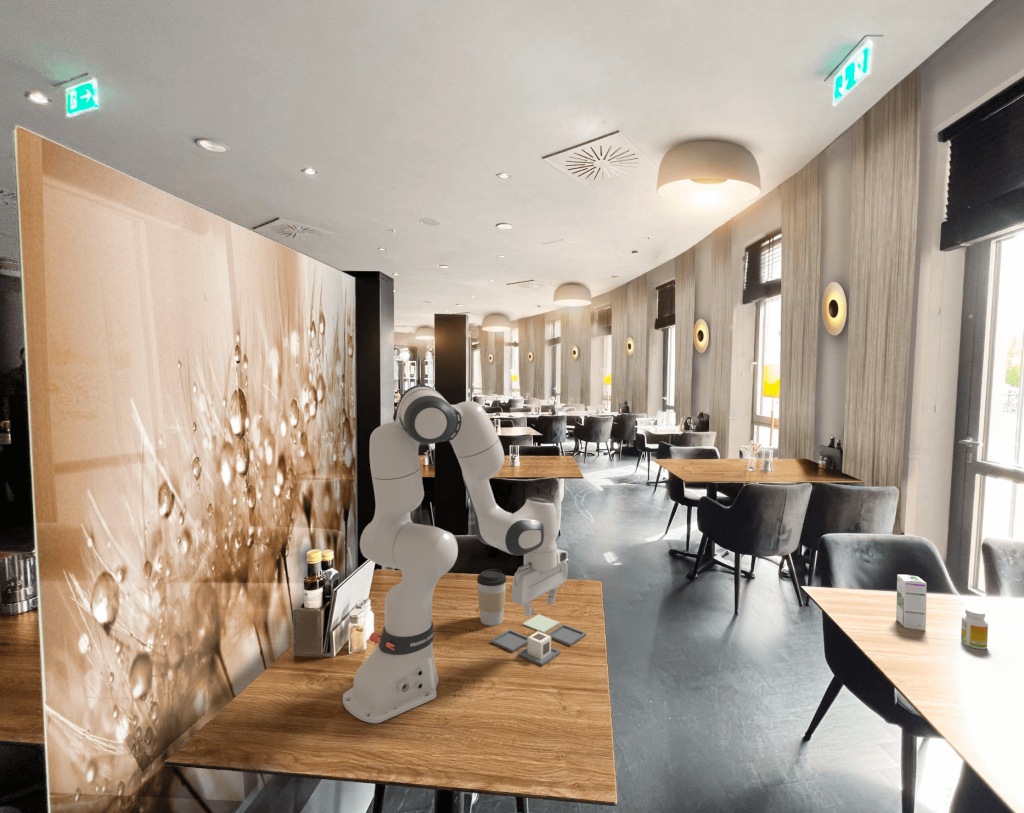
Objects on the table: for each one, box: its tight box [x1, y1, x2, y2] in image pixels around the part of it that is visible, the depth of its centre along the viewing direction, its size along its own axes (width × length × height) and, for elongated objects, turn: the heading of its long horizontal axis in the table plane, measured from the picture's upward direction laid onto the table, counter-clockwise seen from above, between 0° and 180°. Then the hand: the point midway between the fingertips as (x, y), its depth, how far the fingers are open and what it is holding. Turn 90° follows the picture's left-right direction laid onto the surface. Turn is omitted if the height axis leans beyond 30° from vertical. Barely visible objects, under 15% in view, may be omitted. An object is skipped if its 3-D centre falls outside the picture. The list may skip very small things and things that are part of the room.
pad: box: [522, 613, 560, 634], centre depth 151 cm, size 8×8×1 cm
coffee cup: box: [476, 568, 507, 627], centre depth 153 cm, size 9×9×15 cm
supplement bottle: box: [960, 607, 989, 650], centre depth 139 cm, size 5×5×10 cm
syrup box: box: [895, 574, 927, 631], centre depth 151 cm, size 6×6×14 cm
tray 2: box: [517, 646, 561, 667], centre depth 133 cm, size 8×8×1 cm
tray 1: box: [490, 629, 529, 654], centre depth 140 cm, size 8×8×1 cm
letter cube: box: [527, 630, 552, 660], centre depth 133 cm, size 4×5×5 cm
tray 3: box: [546, 623, 587, 647], centre depth 143 cm, size 8×8×1 cm
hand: (540, 609), depth 133 cm, fingers open, 8 cm apart
